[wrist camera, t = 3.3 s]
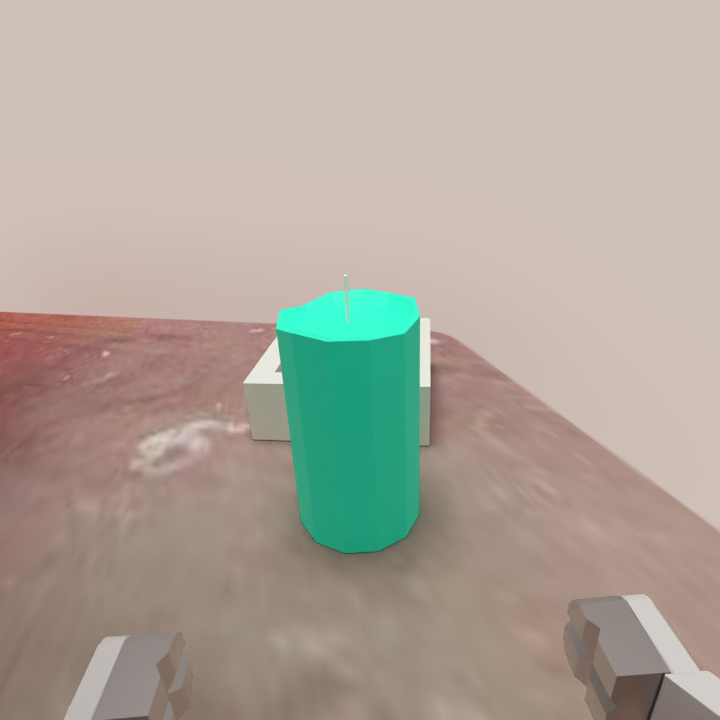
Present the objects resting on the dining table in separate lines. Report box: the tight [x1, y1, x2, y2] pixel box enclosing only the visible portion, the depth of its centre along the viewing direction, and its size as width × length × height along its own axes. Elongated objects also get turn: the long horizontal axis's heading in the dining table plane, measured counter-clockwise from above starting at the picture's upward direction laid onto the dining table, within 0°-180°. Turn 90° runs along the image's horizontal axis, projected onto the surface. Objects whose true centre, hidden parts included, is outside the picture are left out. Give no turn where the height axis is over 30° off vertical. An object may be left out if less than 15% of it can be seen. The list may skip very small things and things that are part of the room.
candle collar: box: [243, 318, 430, 446], centre depth 34 cm, size 11×11×4 cm
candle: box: [276, 275, 420, 553], centre depth 22 cm, size 6×6×12 cm
